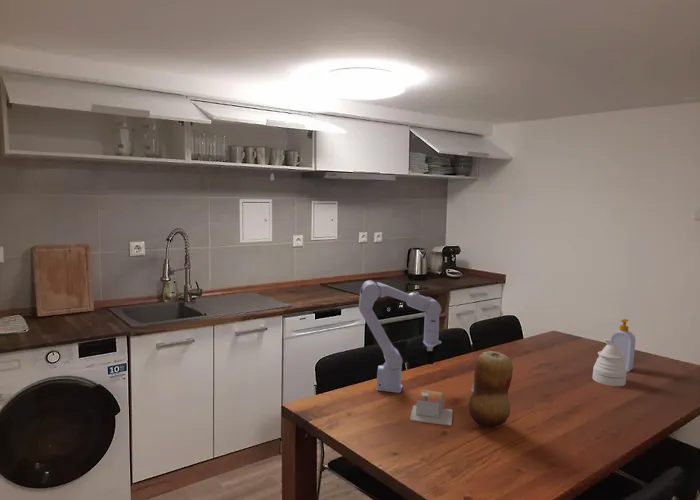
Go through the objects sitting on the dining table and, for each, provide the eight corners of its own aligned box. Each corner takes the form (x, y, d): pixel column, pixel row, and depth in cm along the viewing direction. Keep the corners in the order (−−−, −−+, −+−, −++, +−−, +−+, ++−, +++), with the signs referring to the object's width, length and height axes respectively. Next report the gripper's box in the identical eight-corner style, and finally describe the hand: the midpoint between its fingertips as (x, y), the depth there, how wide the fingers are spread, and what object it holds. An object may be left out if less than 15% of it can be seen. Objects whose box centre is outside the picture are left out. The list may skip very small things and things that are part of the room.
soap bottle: (633, 369, 239) (638, 320, 236) (628, 372, 234) (633, 322, 231) (612, 364, 245) (616, 316, 242) (607, 367, 240) (612, 319, 237)
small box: (444, 392, 186) (439, 403, 176) (443, 407, 187) (438, 418, 177) (422, 388, 189) (416, 399, 179) (421, 403, 189) (415, 414, 179)
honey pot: (593, 383, 218) (597, 341, 216) (591, 373, 230) (595, 334, 228) (627, 388, 214) (631, 346, 212) (623, 378, 225) (627, 338, 224)
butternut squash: (502, 438, 164) (507, 362, 162) (461, 427, 171) (466, 354, 169) (513, 423, 176) (518, 352, 173) (475, 413, 183) (479, 344, 180)
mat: (409, 420, 175) (409, 419, 175) (413, 406, 188) (413, 405, 188) (451, 425, 172) (451, 424, 172) (452, 410, 185) (452, 409, 185)
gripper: (440, 335, 194) (439, 370, 196) (442, 326, 208) (441, 358, 210) (422, 334, 196) (420, 368, 197) (424, 324, 210) (423, 357, 211)
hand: (430, 363), depth 204 cm, fingers closed
